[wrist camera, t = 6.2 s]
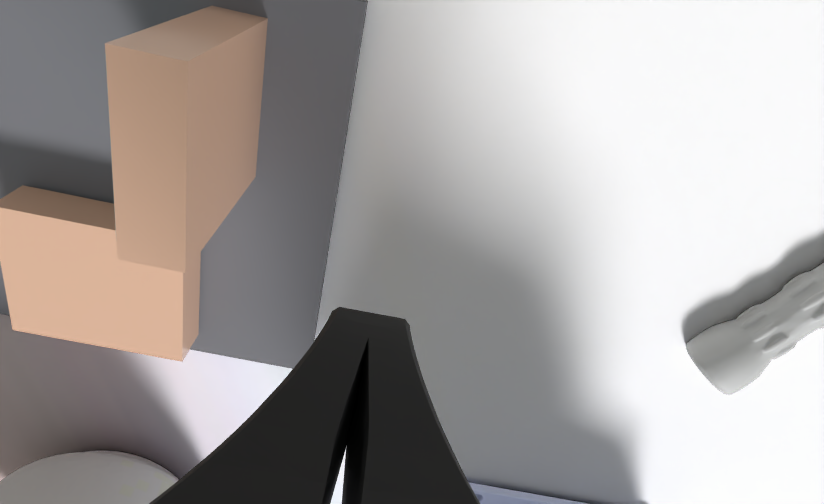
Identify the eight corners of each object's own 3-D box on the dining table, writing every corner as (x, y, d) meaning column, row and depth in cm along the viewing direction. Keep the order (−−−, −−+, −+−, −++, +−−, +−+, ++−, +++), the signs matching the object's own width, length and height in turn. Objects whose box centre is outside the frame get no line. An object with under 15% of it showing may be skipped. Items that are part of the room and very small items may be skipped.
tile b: (267, 18, 16) (187, 61, 11) (255, 176, 19) (185, 272, 14) (206, 4, 16) (96, 41, 11) (202, 165, 19) (110, 258, 14)
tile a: (183, 244, 18) (-10, 205, 18) (182, 361, 21) (12, 329, 20) (203, 219, 20) (25, 183, 19) (199, 331, 22) (42, 301, 22)
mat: (367, 1, 16) (365, 2, 16) (310, 364, 23) (308, 371, 23) (-140, -118, 15) (-154, -119, 15) (-43, 298, 22) (-51, 304, 22)
